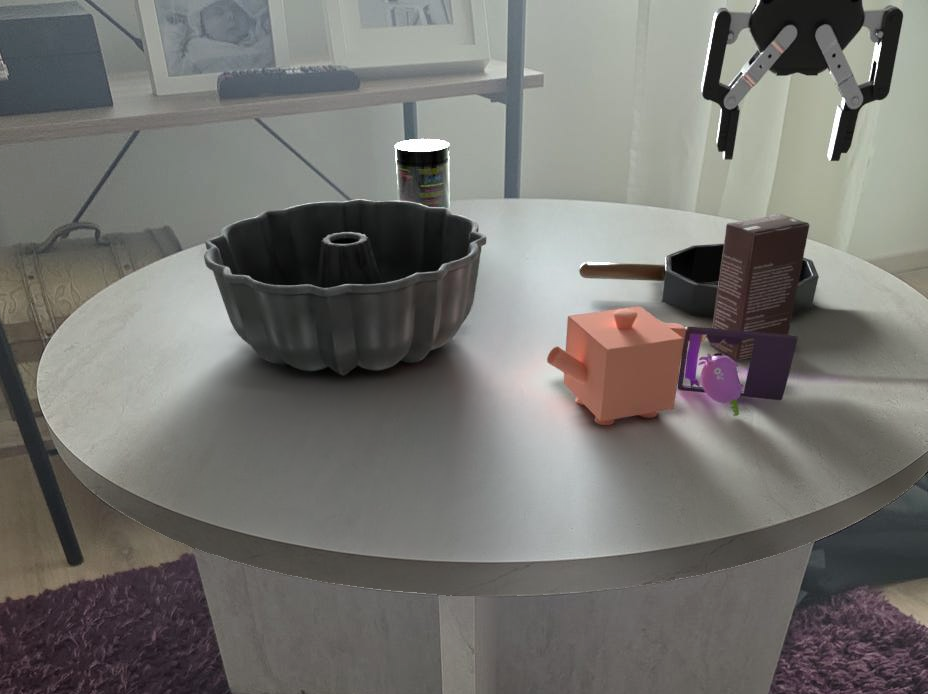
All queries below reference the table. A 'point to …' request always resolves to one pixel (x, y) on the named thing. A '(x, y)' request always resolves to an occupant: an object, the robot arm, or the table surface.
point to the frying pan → (694, 278)
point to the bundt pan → (347, 281)
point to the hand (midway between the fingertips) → (779, 158)
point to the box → (758, 278)
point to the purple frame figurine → (721, 371)
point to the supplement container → (423, 172)
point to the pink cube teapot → (621, 362)
